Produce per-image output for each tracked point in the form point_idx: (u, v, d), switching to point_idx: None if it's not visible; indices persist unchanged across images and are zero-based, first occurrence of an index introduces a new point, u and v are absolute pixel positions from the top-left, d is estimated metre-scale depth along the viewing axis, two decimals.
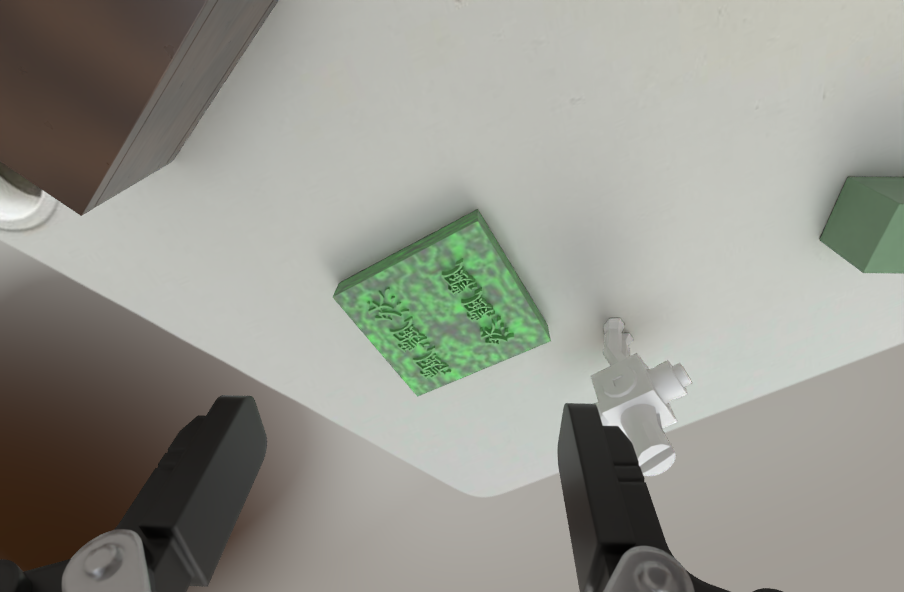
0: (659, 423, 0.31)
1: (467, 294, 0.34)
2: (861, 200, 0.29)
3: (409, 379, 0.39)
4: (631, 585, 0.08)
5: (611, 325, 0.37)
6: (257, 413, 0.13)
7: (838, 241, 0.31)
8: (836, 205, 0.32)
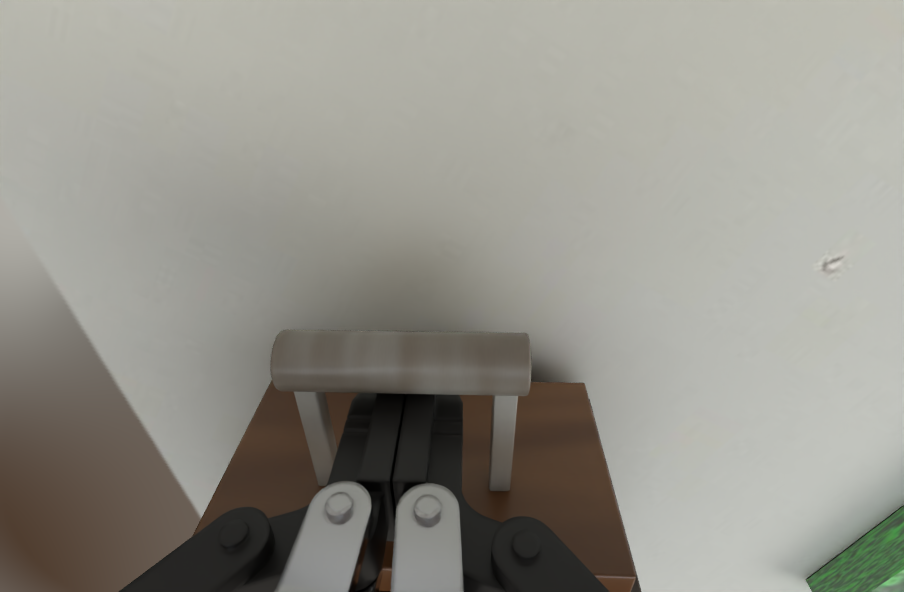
0: None
1: None
2: None
3: None
4: (412, 527, 0.09)
5: None
6: None
7: None
8: None
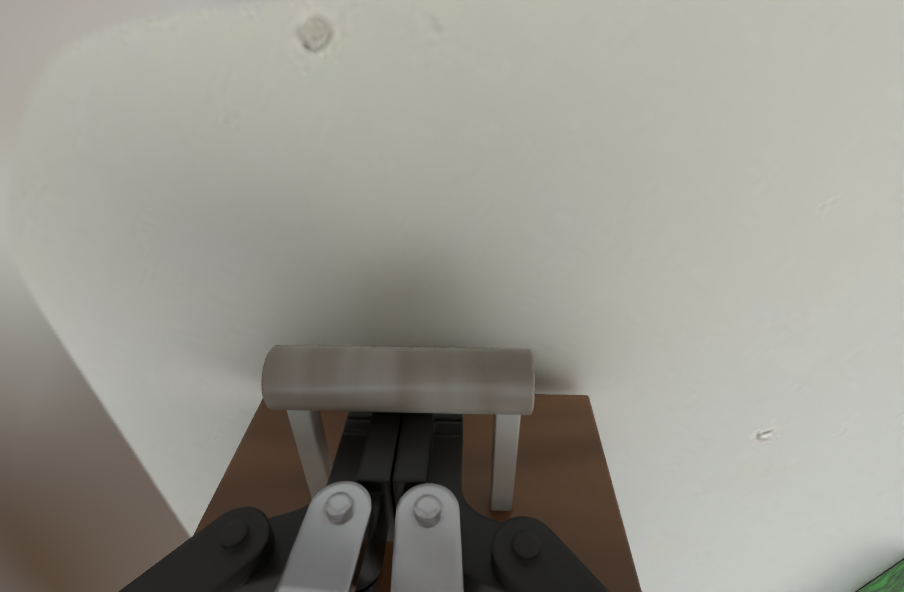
0: None
1: None
2: None
3: None
4: (412, 527, 0.09)
5: None
6: None
7: None
8: None
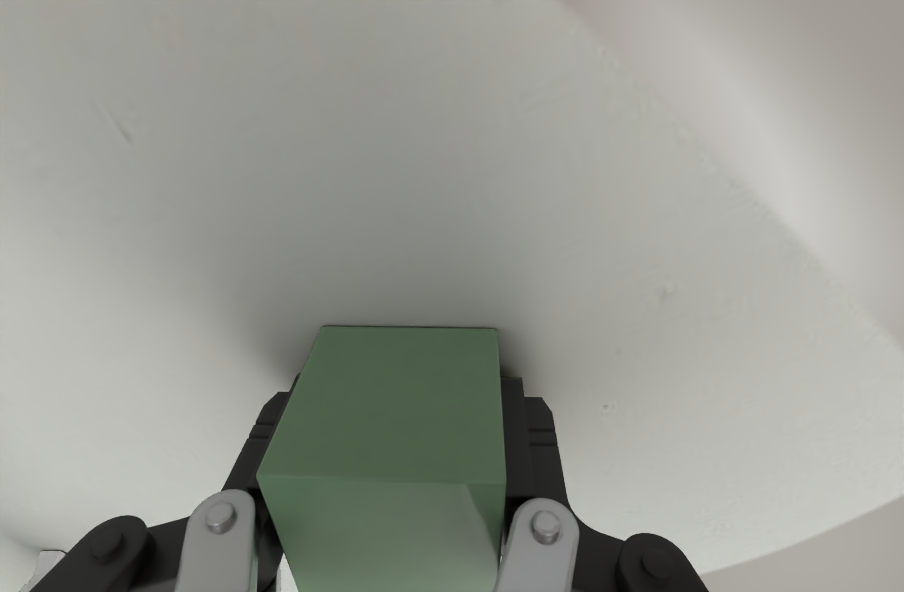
0: None
1: None
2: None
3: None
4: (526, 538, 0.09)
5: (40, 566, 0.19)
6: None
7: None
8: None
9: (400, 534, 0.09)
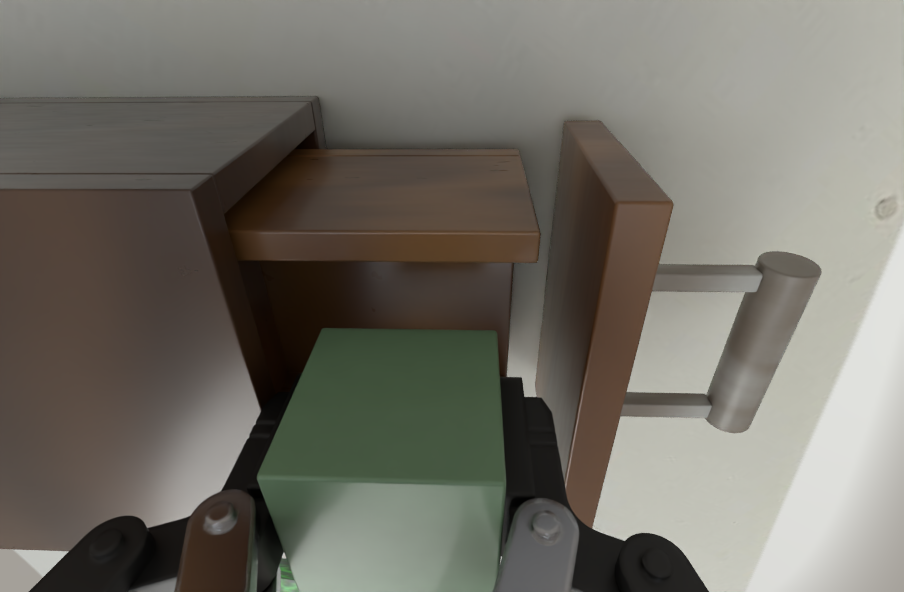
0: None
1: None
2: None
3: None
4: (526, 538, 0.09)
5: None
6: None
7: None
8: None
9: (400, 536, 0.09)
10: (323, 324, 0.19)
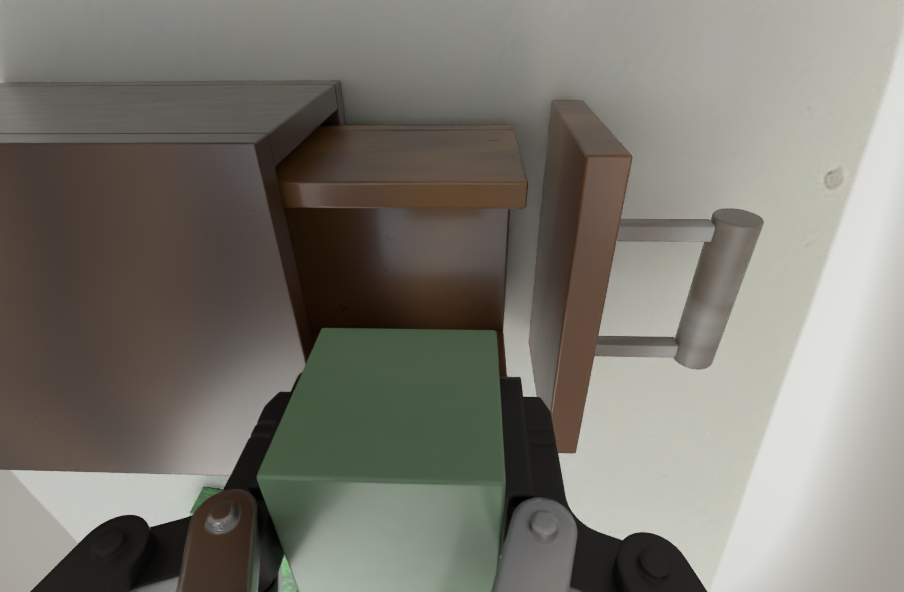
0: None
1: None
2: None
3: None
4: (524, 537, 0.09)
5: None
6: None
7: None
8: None
9: (400, 535, 0.09)
10: (341, 283, 0.22)
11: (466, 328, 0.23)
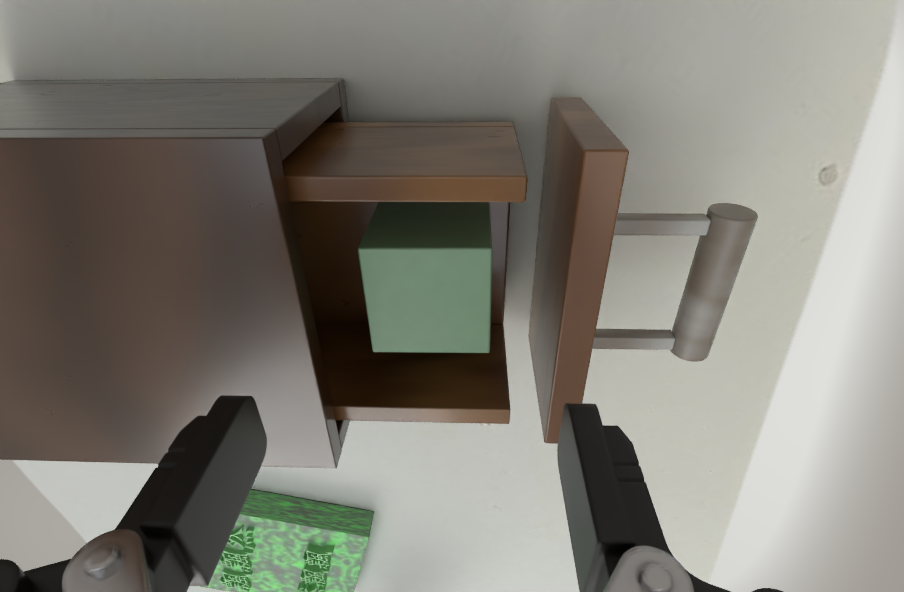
0: None
1: (314, 562, 0.36)
2: None
3: None
4: (631, 585, 0.08)
5: None
6: (257, 413, 0.13)
7: None
8: None
9: (434, 291, 0.17)
10: (344, 277, 0.22)
11: None
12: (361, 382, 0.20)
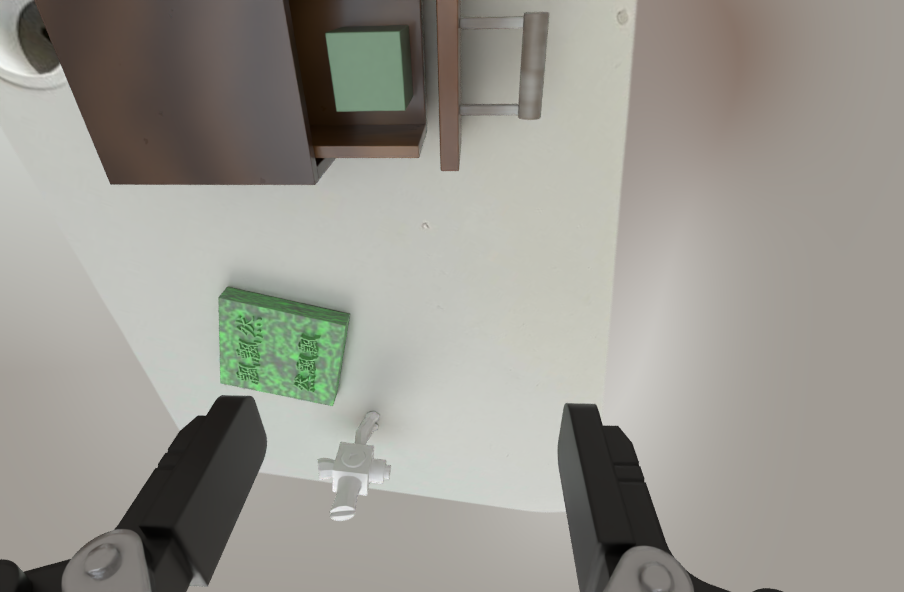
0: (357, 492, 0.49)
1: (306, 353, 0.48)
2: None
3: (225, 371, 0.50)
4: (631, 585, 0.08)
5: (372, 416, 0.55)
6: (257, 413, 0.13)
7: None
8: None
9: (369, 63, 0.29)
10: (322, 88, 0.35)
11: (402, 123, 0.36)
12: (330, 140, 0.32)
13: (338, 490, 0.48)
